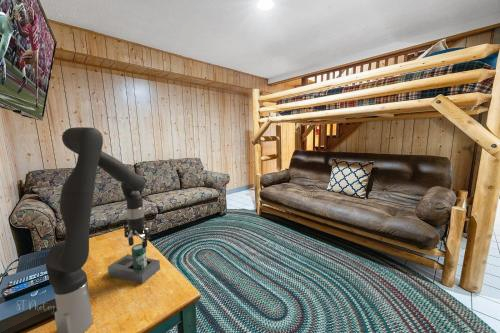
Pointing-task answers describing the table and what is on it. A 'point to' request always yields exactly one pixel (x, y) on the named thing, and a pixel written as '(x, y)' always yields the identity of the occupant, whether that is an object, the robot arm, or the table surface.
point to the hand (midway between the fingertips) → (138, 246)
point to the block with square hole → (126, 271)
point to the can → (139, 257)
